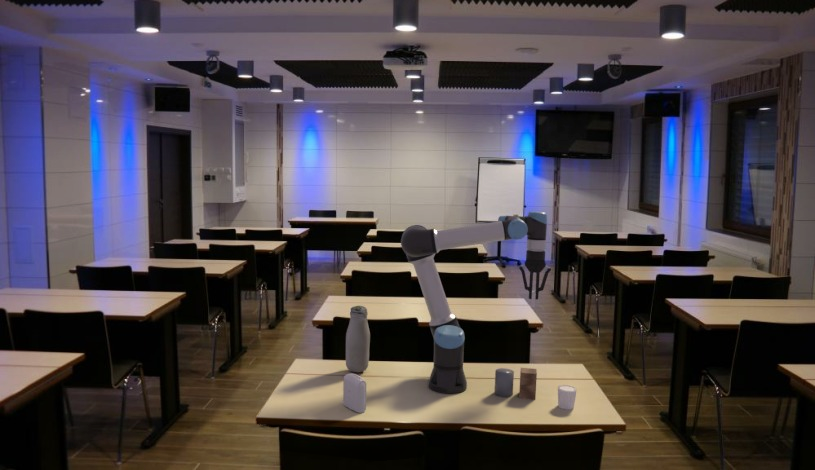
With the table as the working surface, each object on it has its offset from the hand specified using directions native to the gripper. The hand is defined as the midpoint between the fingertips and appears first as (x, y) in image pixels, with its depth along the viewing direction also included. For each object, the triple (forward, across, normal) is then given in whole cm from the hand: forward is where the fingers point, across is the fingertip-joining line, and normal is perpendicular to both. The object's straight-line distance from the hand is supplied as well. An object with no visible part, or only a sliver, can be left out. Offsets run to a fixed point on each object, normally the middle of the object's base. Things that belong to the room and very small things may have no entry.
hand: (533, 306), depth 261 cm
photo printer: (+31, +62, +48) cm, 84 cm away
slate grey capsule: (+30, +10, +20) cm, 38 cm away
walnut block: (+31, +1, +20) cm, 36 cm away
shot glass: (+31, -13, +28) cm, 43 cm away
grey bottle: (+31, +71, +9) cm, 78 cm away
